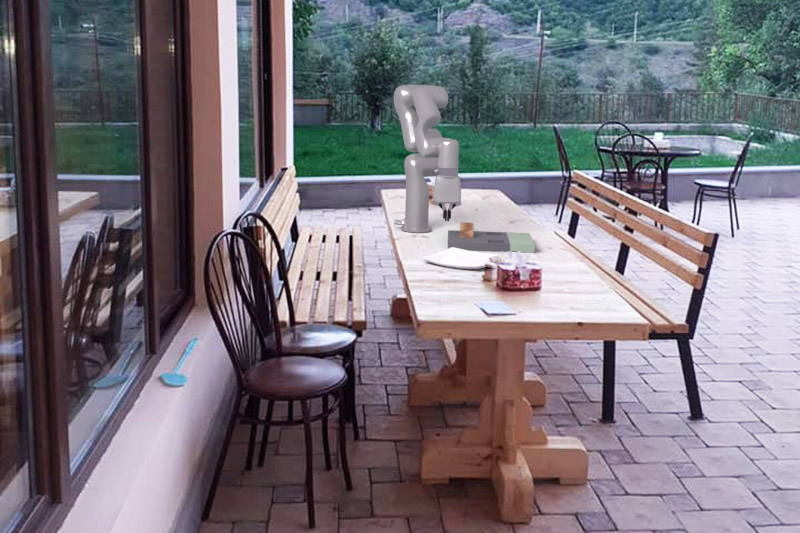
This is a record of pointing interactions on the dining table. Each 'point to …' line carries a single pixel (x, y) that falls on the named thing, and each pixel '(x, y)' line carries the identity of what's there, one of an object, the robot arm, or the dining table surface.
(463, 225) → the terracotta block
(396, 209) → the dining table surface
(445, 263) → the plate
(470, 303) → the dining table surface
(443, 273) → the dining table surface
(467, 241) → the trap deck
